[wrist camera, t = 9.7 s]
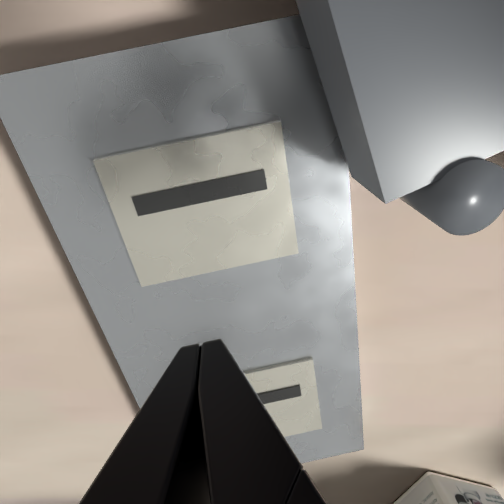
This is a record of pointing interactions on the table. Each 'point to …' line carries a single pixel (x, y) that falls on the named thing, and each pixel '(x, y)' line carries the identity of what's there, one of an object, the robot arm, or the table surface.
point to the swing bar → (417, 100)
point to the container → (448, 492)
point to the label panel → (206, 213)
